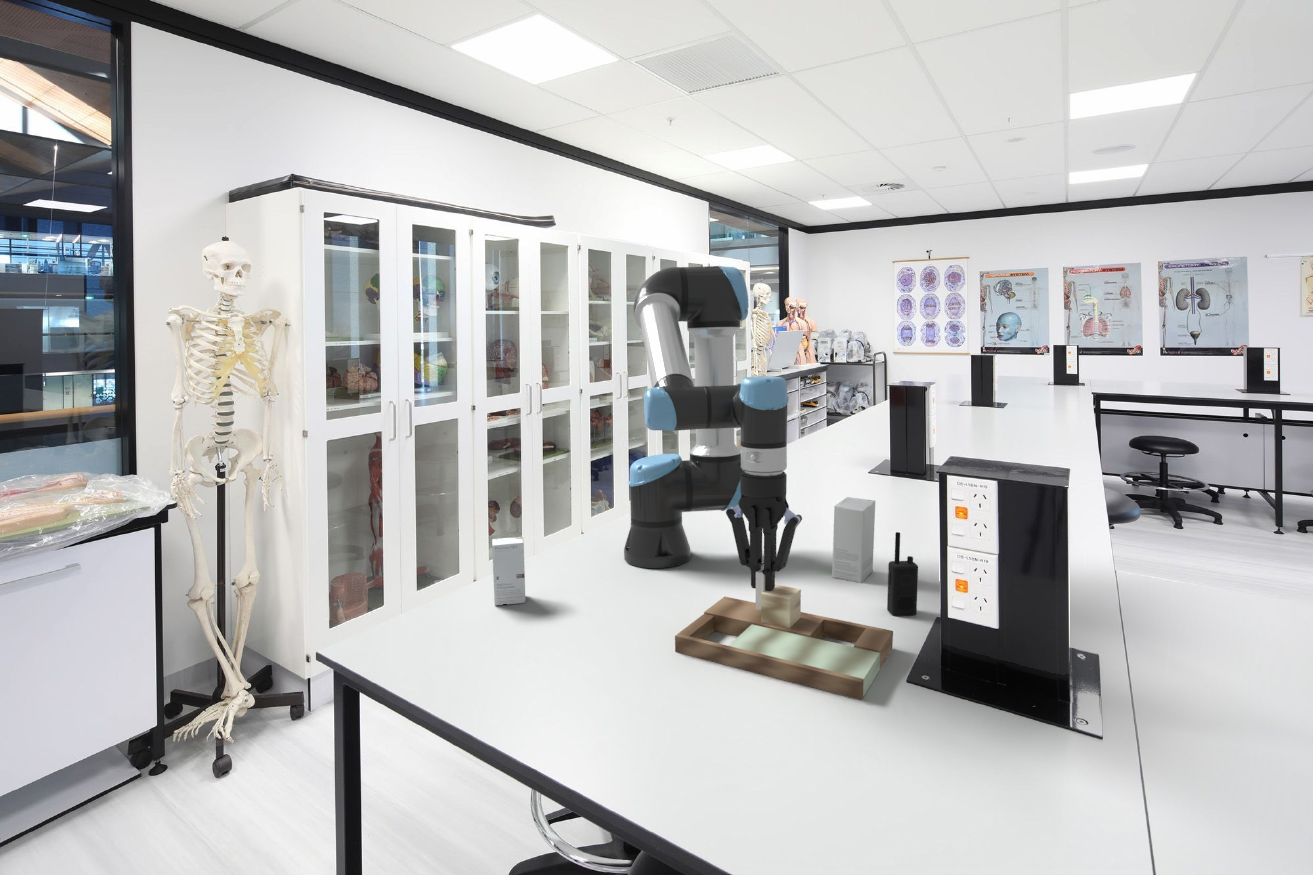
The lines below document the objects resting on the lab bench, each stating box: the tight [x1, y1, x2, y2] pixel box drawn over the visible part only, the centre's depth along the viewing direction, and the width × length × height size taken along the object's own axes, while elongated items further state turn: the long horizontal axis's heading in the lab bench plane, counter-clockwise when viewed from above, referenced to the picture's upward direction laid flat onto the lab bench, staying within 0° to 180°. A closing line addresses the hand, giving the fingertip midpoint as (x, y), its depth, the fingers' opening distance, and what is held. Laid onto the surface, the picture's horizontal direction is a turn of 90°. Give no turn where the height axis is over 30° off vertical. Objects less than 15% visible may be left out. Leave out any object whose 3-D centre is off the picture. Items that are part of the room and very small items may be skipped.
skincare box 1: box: [491, 536, 526, 606], centre depth 134 cm, size 6×4×12 cm
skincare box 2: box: [831, 496, 876, 584], centre depth 143 cm, size 8×7×16 cm
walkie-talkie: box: [886, 531, 919, 617], centre depth 124 cm, size 5×3×15 cm
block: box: [761, 583, 802, 628], centre depth 116 cm, size 5×5×5 cm
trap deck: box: [674, 596, 894, 701], centre depth 111 cm, size 30×18×3 cm, turn 58°
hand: (762, 607), depth 117 cm, fingers closed
